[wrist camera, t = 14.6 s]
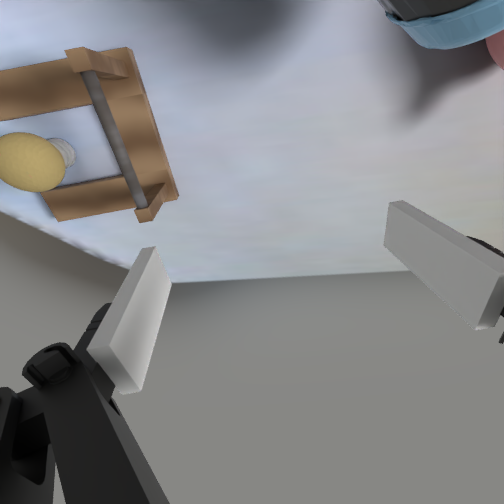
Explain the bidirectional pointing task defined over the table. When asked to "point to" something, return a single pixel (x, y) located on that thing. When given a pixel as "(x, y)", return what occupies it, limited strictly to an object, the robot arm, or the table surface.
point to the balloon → (496, 47)
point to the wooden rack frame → (114, 124)
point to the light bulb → (34, 161)
